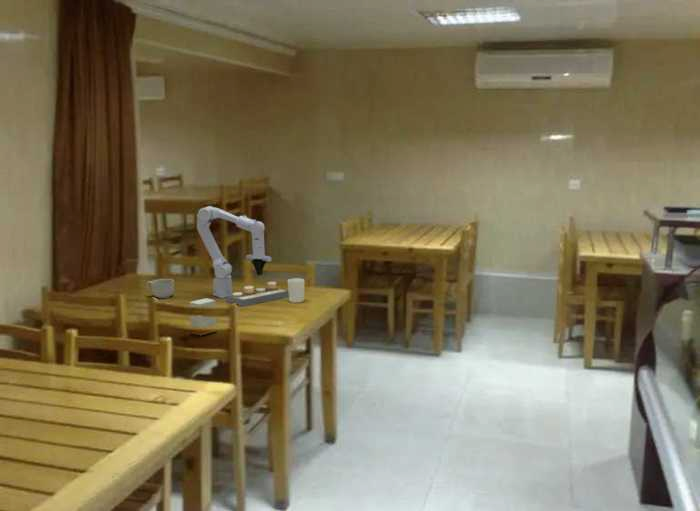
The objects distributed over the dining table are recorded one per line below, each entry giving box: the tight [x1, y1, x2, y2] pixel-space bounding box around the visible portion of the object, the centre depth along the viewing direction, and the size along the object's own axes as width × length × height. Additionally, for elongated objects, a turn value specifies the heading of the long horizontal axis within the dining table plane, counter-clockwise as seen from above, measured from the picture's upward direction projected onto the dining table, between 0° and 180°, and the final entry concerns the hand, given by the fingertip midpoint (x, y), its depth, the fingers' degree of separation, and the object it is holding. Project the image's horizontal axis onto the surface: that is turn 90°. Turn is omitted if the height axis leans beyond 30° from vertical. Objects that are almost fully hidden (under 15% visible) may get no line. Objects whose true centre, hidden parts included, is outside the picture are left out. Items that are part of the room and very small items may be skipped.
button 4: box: [266, 281, 277, 291], centre depth 322 cm, size 4×4×4 cm
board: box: [225, 287, 289, 308], centre depth 314 cm, size 14×26×3 cm, turn 132°
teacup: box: [146, 278, 175, 299], centre depth 323 cm, size 14×11×8 cm
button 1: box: [232, 291, 243, 298], centre depth 309 cm, size 4×4×4 cm
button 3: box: [255, 287, 266, 293], centre depth 318 cm, size 4×4×4 cm
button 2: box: [243, 285, 255, 295], centre depth 313 cm, size 4×4×4 cm
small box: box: [188, 298, 218, 328], centre depth 259 cm, size 8×6×13 cm
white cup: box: [287, 277, 306, 304], centre depth 309 cm, size 8×8×10 cm
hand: (259, 274), depth 320 cm, fingers closed
